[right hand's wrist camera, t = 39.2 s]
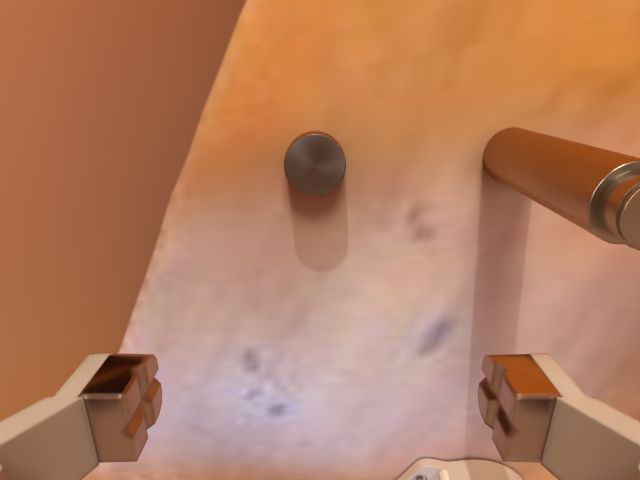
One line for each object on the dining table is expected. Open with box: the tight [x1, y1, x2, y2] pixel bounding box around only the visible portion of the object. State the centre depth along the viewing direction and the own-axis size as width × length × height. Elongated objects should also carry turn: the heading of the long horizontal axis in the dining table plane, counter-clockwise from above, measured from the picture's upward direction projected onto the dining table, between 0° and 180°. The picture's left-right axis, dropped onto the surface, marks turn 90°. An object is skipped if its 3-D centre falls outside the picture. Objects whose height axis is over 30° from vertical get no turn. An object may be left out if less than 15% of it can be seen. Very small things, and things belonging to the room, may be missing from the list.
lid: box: [284, 131, 346, 196], centre depth 36 cm, size 5×5×2 cm
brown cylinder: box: [484, 128, 640, 250], centre depth 29 cm, size 4×4×17 cm
